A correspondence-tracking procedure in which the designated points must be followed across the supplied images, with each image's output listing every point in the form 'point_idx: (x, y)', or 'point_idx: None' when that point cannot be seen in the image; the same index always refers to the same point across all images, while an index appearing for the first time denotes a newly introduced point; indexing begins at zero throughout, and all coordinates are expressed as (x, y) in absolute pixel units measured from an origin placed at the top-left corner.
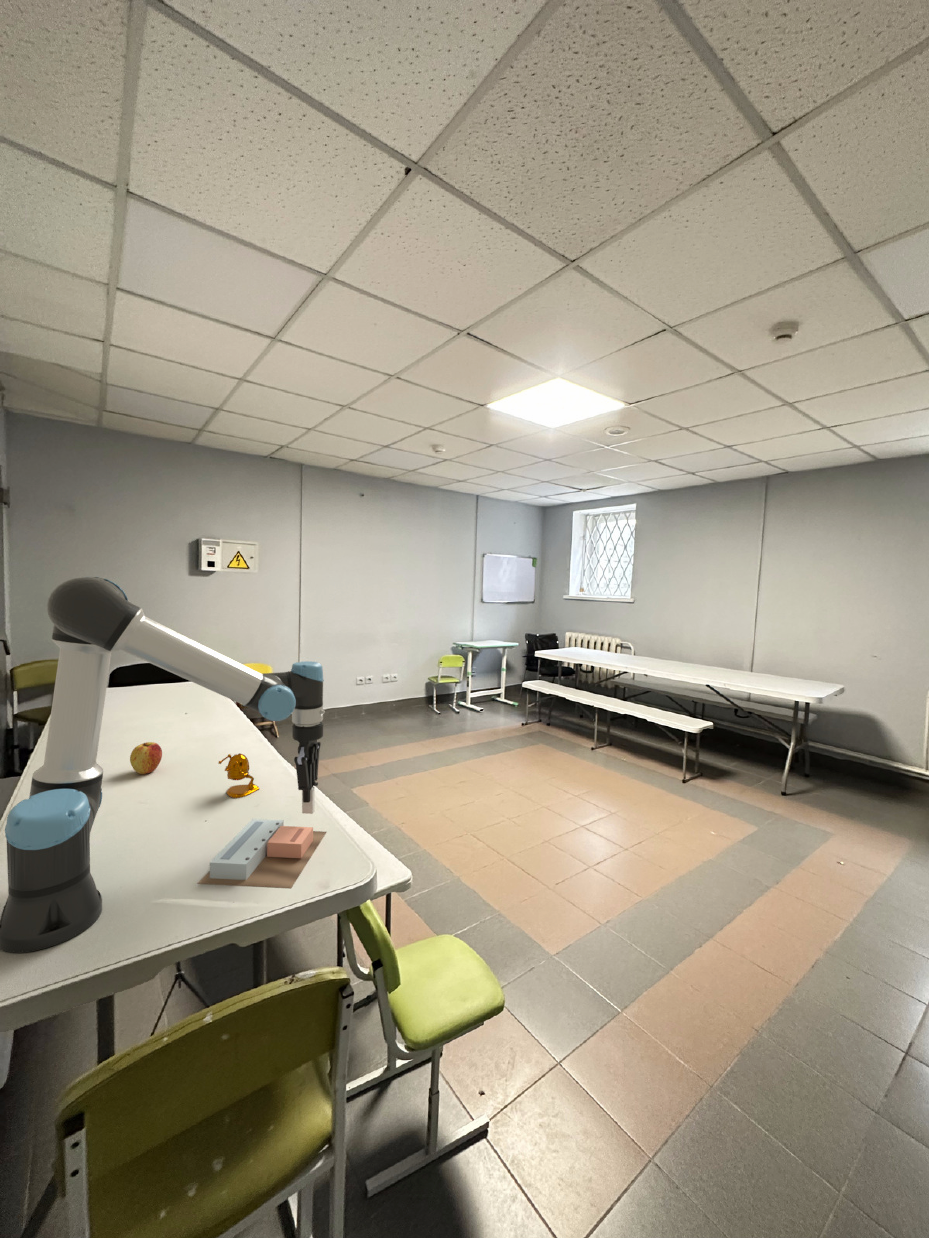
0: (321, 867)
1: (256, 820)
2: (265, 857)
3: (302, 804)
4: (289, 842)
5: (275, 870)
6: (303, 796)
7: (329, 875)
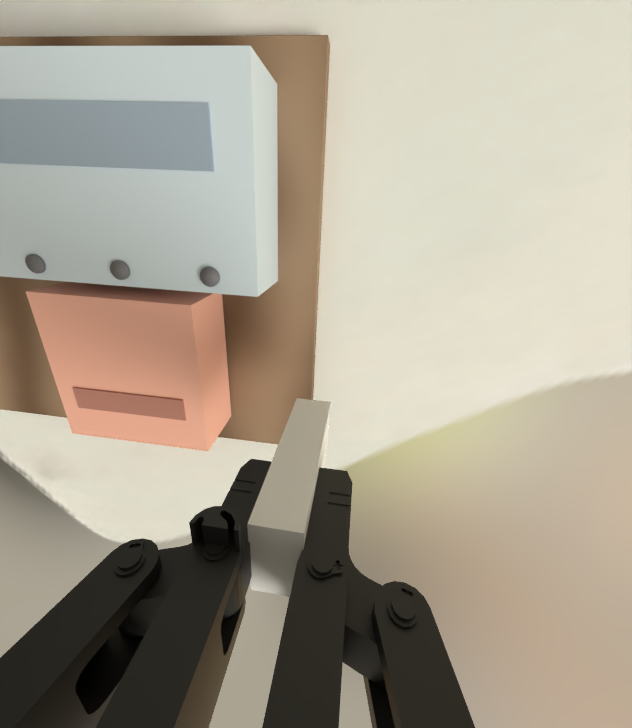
0: (118, 452)
1: (229, 99)
2: None
3: (284, 431)
4: (66, 387)
5: (28, 337)
6: (227, 495)
7: (91, 474)
